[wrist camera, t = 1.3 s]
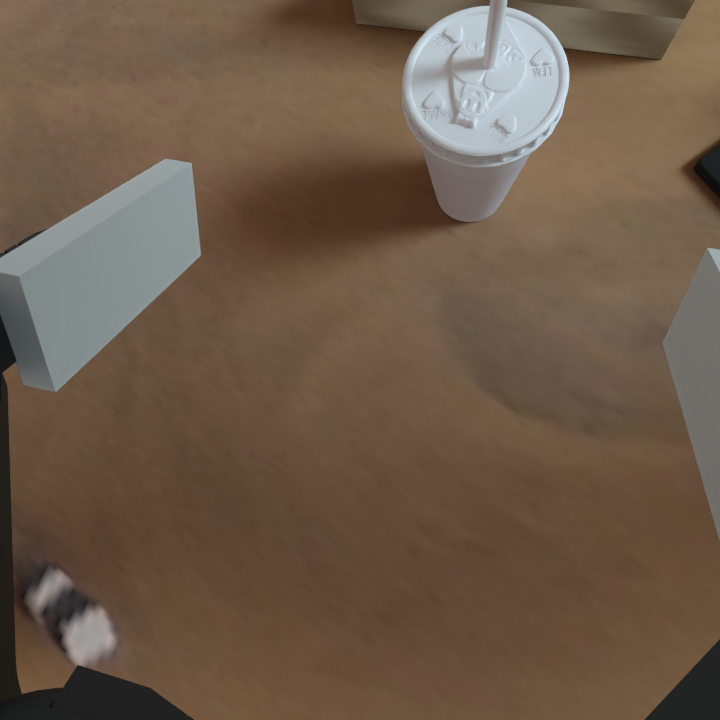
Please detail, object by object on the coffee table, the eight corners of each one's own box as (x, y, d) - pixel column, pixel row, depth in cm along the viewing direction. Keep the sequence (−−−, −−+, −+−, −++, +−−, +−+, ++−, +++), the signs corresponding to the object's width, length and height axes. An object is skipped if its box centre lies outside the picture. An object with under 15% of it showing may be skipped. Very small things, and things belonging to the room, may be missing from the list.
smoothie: (548, 155, 32) (634, -74, 18) (505, 263, 31) (560, 110, 17) (436, 120, 33) (436, -121, 19) (392, 224, 32) (360, 51, 18)
